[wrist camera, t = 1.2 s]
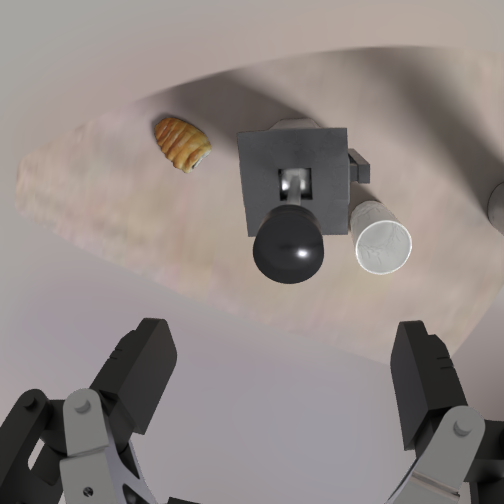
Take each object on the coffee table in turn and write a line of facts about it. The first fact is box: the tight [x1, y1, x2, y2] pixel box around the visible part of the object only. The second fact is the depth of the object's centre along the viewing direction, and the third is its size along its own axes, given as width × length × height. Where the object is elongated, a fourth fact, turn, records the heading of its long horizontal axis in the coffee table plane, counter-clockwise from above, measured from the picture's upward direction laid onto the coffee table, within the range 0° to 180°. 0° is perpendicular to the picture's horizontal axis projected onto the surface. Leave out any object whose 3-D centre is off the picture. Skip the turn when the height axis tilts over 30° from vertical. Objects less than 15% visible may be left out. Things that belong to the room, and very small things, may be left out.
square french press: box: [237, 118, 370, 237], centre depth 35 cm, size 13×10×19 cm
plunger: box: [253, 168, 324, 284], centre depth 22 cm, size 8×8×15 cm
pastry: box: [154, 118, 211, 173], centre depth 44 cm, size 9×7×4 cm
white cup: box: [350, 201, 412, 274], centre depth 43 cm, size 8×8×10 cm
